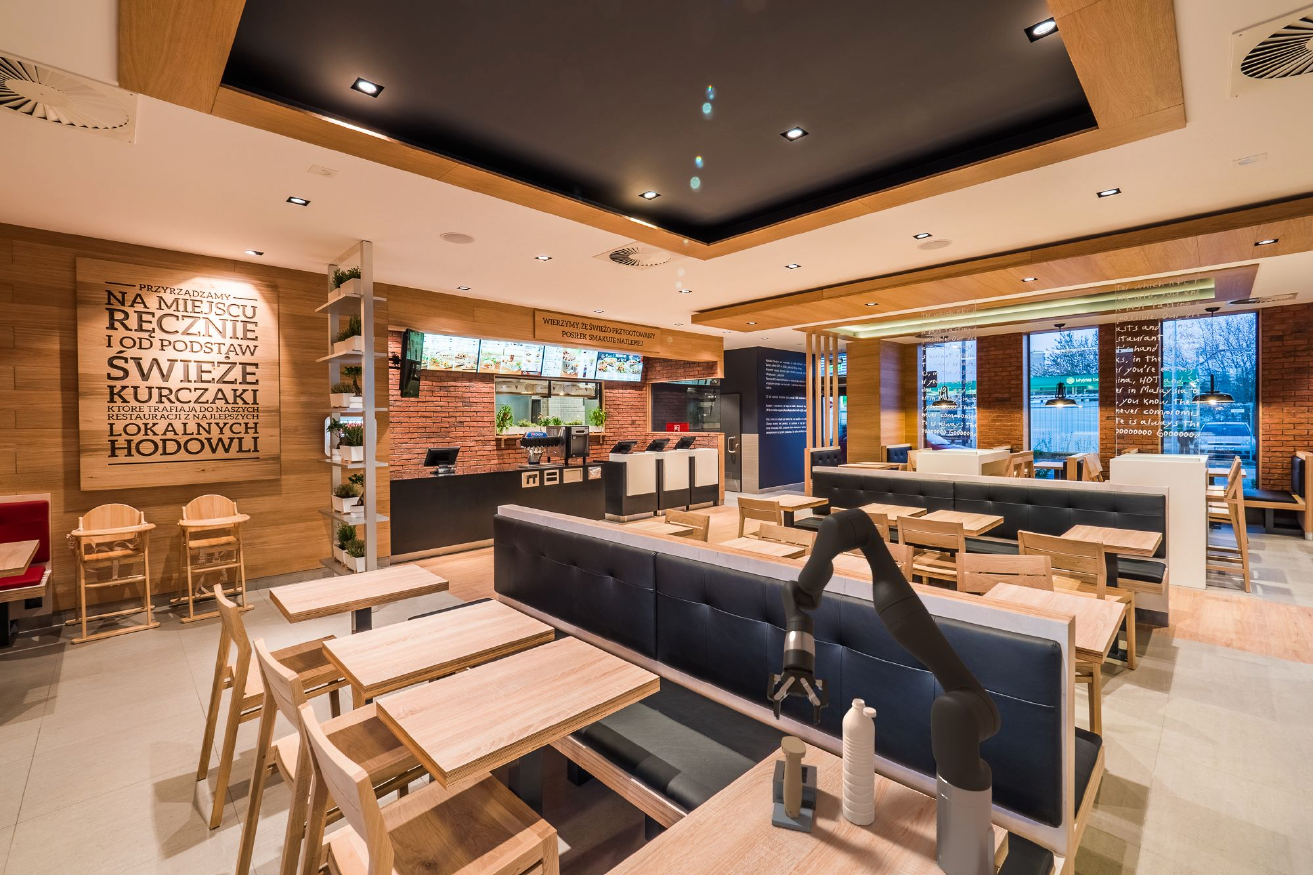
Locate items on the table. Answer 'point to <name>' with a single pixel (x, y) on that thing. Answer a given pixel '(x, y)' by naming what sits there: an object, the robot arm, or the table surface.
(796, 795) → the handle
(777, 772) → the socket block
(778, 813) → the rubber mat
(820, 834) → the table surface
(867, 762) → the water bottle
